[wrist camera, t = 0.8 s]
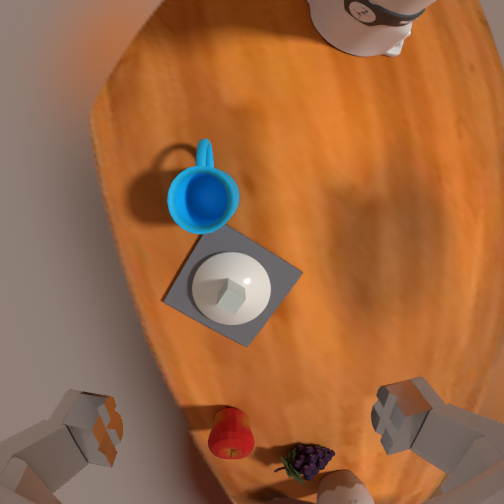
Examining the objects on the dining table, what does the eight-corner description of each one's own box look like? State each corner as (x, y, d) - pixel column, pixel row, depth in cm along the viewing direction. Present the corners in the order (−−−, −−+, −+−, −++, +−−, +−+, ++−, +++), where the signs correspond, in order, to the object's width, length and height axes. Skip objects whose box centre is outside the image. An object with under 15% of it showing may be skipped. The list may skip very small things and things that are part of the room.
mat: (214, 216, 44) (213, 217, 43) (302, 271, 47) (302, 272, 46) (164, 300, 47) (163, 301, 47) (246, 345, 50) (247, 347, 50)
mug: (240, 224, 43) (235, 233, 35) (185, 225, 44) (169, 235, 36) (238, 141, 41) (233, 131, 33) (182, 144, 41) (165, 136, 33)
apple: (210, 425, 56) (207, 468, 45) (210, 400, 54) (206, 445, 43) (250, 427, 57) (253, 470, 45) (253, 401, 54) (257, 446, 43)
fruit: (322, 444, 65) (268, 465, 61) (325, 425, 60) (265, 449, 56) (340, 472, 56) (283, 496, 52) (346, 457, 51) (282, 485, 47)
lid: (218, 236, 44) (216, 244, 39) (285, 276, 46) (290, 289, 42) (179, 298, 47) (173, 313, 42) (243, 333, 49) (244, 350, 44)
